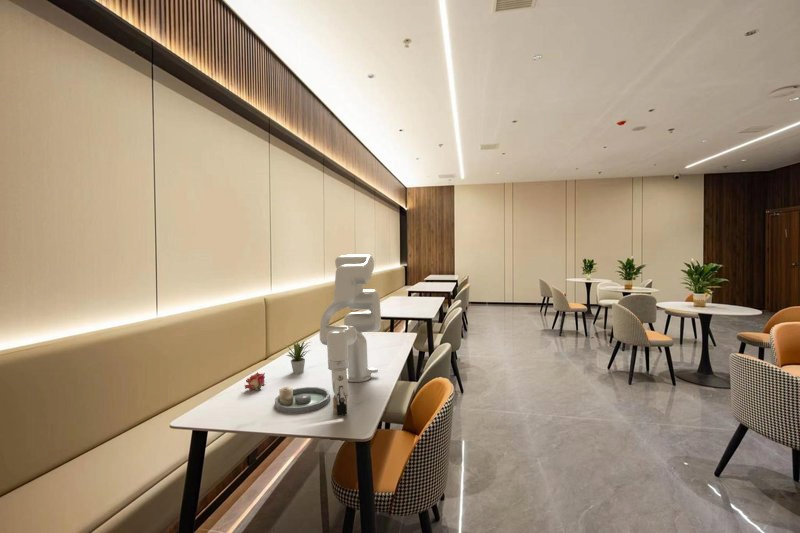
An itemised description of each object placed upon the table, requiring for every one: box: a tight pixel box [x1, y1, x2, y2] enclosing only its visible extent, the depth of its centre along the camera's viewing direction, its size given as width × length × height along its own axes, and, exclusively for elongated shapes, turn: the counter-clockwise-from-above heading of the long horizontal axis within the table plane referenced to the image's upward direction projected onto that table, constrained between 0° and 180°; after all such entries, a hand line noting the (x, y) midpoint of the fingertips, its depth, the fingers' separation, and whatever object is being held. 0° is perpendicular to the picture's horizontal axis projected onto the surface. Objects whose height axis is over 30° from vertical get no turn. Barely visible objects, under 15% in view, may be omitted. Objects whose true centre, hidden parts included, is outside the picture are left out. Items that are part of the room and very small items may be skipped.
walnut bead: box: [332, 395, 348, 415], centre depth 133 cm, size 5×5×6 cm
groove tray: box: [274, 386, 331, 414], centre depth 143 cm, size 21×21×3 cm
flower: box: [244, 372, 267, 391], centre depth 159 cm, size 10×9×8 cm
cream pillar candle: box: [278, 386, 294, 406], centre depth 141 cm, size 5×5×6 cm
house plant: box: [284, 340, 311, 374], centre depth 184 cm, size 14×14×16 cm
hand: (340, 409), depth 133 cm, fingers open, 8 cm apart
